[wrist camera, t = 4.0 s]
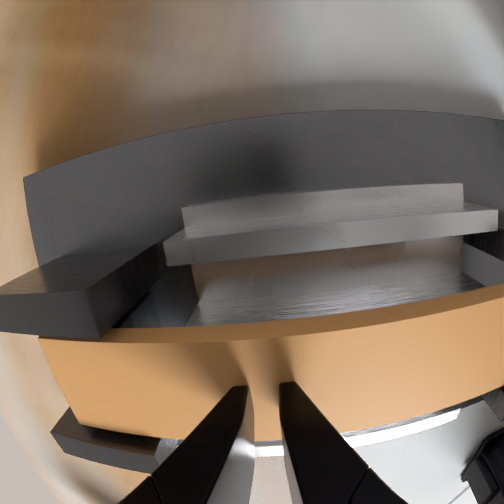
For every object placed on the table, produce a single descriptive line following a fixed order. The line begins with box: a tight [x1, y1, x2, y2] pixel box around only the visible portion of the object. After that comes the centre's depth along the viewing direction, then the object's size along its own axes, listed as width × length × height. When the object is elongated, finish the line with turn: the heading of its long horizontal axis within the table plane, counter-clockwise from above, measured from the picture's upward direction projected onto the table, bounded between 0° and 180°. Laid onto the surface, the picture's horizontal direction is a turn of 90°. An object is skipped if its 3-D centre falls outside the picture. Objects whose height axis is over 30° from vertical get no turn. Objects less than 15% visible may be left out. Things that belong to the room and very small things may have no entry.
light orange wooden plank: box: [38, 283, 504, 441], centre depth 7 cm, size 17×4×2 cm, turn 97°
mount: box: [0, 110, 504, 474], centre depth 9 cm, size 22×14×6 cm, turn 97°
